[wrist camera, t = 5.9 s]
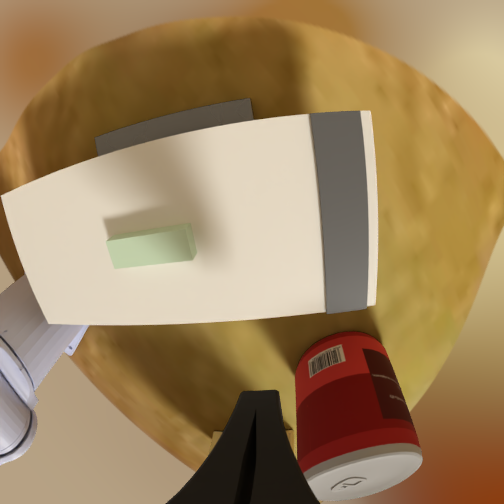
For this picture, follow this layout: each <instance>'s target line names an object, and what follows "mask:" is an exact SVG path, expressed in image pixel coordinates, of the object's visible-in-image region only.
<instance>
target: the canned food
mask: <svg viewBox="0 0 504 504" xmlns="http://www.w3.org/2000/svg"><path fill="white" fill-rule="evenodd" d="M295 387H296V418H297V462H298V464H299V466H300V468H301V471H302V473H303V474H304V476H305V478H306V480H307V482H308V484H309V486H310V488H311V489H312V491H313V493H314V495H315V496H316V498H317V499H318V500H322V501H340V500H348V499H355V498H360V497H364V496H367V495H371V494H374V493H377V492H380V491H382V490H385V489H388V488H390V487H392V486H394V485H396V484H398V483H400V482H401V481H403V480H405V479H406V478H408V477H409V476H410V475H411V474H413V473H414V472H415V471H416V470H417V469H418V468H419V467H420V465H421V463H422V459H423V458H422V451H421V448H420V445H419V441H418V437H417V434H416V431H415V428H414V425H413V422H412V419H411V416H410V413H409V410H408V407H407V405H406V402H405V399H404V396H403V394H402V391H401V388H400V386H399V383H398V380H397V378H396V375H395V372H394V370H393V367H392V365H391V362H390V360H389V357H388V355H387V352H386V350H385V348H384V347H383V346H382V344H381V343H380V342H379V341H378V340H376V339H375V338H374V337H372V336H371V335H368V334H366V333H362V332H355V331H354V332H342V333H337V334H334V335H331V336H328V337H326V338H324V339H322V340H320V341H318V342H317V343H315V344H314V345H312V346H311V347H310V348H309V349H308V350H307V351H306V352H305V353H304V355H303V356H302V357H301V359H300V362H299V364H298V367H297V369H296V374H295Z"/></svg>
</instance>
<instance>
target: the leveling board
mask: <svg viewBox="0 0 504 504" xmlns="http://www.w3.org/2000/svg"><path fill="white" fill-rule="evenodd" d="M1 199H2V203H3V206H4V210H5V214H6V217H7V221H8V224H9V227H10V231H11V234H12V237H13V240H14V243H15V246H16V249H17V252H18V255H19V257H20V260H21V263H22V265H23V268H24V270H25V273H26V275H27V278H28V280H29V283H30V285H31V287H32V290H33V292H34V294H35V297H36V299H37V301H38V303H39V305H40V307H41V310H42V312H43V314H44V316H45V318H46V320H47V322H48V324H67V325H160V324H187V323H207V322H224V321H238V320H251V319H263V318H274V317H284V316H294V315H303V314H312V313H321V312H326V313H327V314H332V313H340V312H348V311H355V310H362V309H367V306H372V305H375V302H376V286H377V263H378V199H377V176H376V161H375V148H374V137H373V128H372V119H371V111H341V112H324V113H311V114H302V115H292V116H283V117H275V118H267V119H259V120H252V121H246V122H239V123H233V124H227V125H222V126H216V127H211V128H206V129H201V130H196V131H191V132H187V133H182V134H178V135H174V136H169V137H165V138H161V139H157V140H153V141H149V142H146V143H142V144H138V145H135V146H131V147H128V148H124V149H121V150H118V151H114V152H111V153H108V154H105V155H102V156H99V157H96V158H93V159H90V160H87V161H84V162H81V163H78V164H75V165H73V166H70V167H67V168H64V169H62V170H59V171H57V172H54V173H51V174H49V175H46V176H44V177H42V178H39V179H37V180H34V181H32V182H30V183H27V184H25V185H23V186H21V187H18V188H16V189H14V190H12V191H10V192H8V193H5V194H3V195H1Z"/></svg>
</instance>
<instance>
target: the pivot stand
mask: <svg viewBox="0 0 504 504" xmlns="http://www.w3.org/2000/svg"><path fill="white" fill-rule="evenodd" d="M252 120H254V116H253V109H252V103H251V99H250V98H247V99H241V100H235V101H229V102H224V103H218V104H213V105H208V106H203V107H199V108H194V109H190V110H186V111H181V112H177V113H173V114H169V115H165V116H162V117H158V118H154V119H151V120H147V121H144V122H140V123H137V124H134V125H130V126H127V127H124V128H121V129H118V130H115V131H112V132H109V133H106V134H103V135H100V136H98V137H95V143H96V148H97V153H98V157H99V156H102V155H105V154H108V153H111V152H114V151H118V150H121V149H124V148H128V147H131V146H135V145H138V144H142V143H146V142H149V141H153V140H157V139H161V138H165V137H169V136H174V135H178V134H182V133H187V132H191V131H196V130H201V129H206V128H211V127H216V126H222V125H227V124H233V123H239V122H246V121H252Z"/></svg>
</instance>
